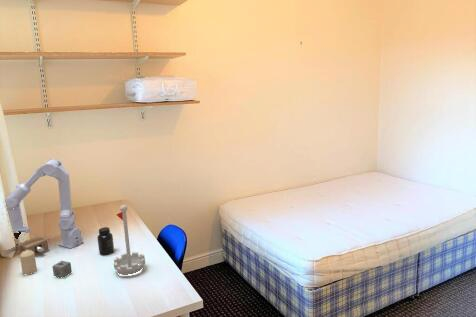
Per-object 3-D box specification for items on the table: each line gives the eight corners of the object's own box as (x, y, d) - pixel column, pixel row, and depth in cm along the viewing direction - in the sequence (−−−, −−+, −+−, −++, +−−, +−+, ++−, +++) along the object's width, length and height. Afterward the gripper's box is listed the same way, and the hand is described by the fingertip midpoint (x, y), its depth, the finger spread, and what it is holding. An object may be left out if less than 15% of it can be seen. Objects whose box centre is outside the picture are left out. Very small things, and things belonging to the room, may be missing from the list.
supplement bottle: (114, 248, 184) (111, 225, 182) (114, 254, 178) (111, 230, 176) (99, 250, 182) (96, 227, 180) (99, 256, 176) (96, 233, 173)
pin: (47, 252, 180) (46, 243, 179) (38, 257, 176) (37, 247, 175) (32, 247, 186) (30, 238, 185) (22, 251, 182) (21, 242, 181)
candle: (21, 276, 161) (17, 254, 159) (24, 269, 166) (21, 249, 164) (35, 273, 162) (31, 252, 160) (38, 267, 168) (34, 247, 165)
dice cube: (63, 271, 164) (61, 260, 163) (71, 272, 162) (70, 262, 161) (53, 276, 160) (52, 266, 159) (62, 278, 158) (61, 267, 157)
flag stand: (152, 267, 165) (146, 202, 158) (129, 281, 154) (122, 212, 147) (130, 260, 171) (124, 198, 165) (108, 273, 160) (100, 207, 154)
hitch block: (49, 250, 184) (47, 239, 183) (29, 259, 175) (27, 247, 174) (38, 247, 188) (36, 236, 186) (19, 256, 179) (17, 244, 178)
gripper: (33, 217, 185) (37, 242, 188) (11, 214, 189) (15, 239, 192) (21, 222, 178) (25, 249, 181) (-2, 220, 183) (3, 245, 186)
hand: (19, 244), depth 186 cm, fingers closed
